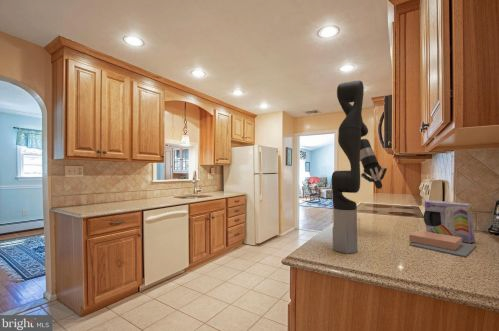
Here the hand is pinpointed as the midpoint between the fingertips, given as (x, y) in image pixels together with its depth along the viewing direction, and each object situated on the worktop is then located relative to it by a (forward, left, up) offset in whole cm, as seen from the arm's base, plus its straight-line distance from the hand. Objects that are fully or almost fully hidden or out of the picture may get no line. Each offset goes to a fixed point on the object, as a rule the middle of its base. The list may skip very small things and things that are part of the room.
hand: (379, 188), depth 118 cm
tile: (+5, -13, -22) cm, 26 cm away
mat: (+5, -23, -24) cm, 34 cm away
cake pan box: (+23, -21, -25) cm, 40 cm away
